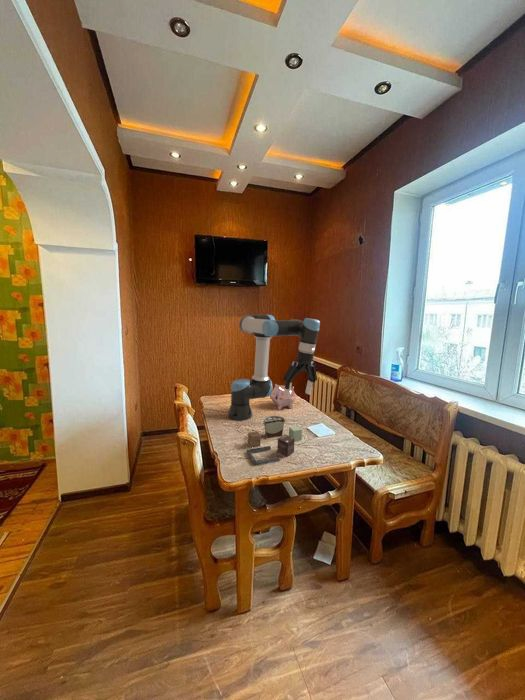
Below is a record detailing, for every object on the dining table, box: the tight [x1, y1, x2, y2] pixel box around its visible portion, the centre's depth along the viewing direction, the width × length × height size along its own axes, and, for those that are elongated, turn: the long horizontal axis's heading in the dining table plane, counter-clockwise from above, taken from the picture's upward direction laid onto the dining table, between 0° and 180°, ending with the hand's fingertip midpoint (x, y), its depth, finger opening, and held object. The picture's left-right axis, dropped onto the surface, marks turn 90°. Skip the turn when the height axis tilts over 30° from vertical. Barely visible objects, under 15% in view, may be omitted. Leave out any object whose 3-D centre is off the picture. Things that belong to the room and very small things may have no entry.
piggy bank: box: [269, 383, 296, 410], centre depth 194 cm, size 15×18×16 cm
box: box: [276, 434, 295, 458], centre depth 133 cm, size 6×6×7 cm
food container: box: [262, 415, 286, 439], centre depth 151 cm, size 12×6×10 cm, turn 111°
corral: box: [245, 445, 280, 466], centre depth 129 cm, size 11×12×2 cm
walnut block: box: [247, 430, 262, 449], centre depth 140 cm, size 5×5×6 cm
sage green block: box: [288, 425, 303, 442], centre depth 147 cm, size 5×5×6 cm
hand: (297, 394), depth 132 cm, fingers open, 13 cm apart
